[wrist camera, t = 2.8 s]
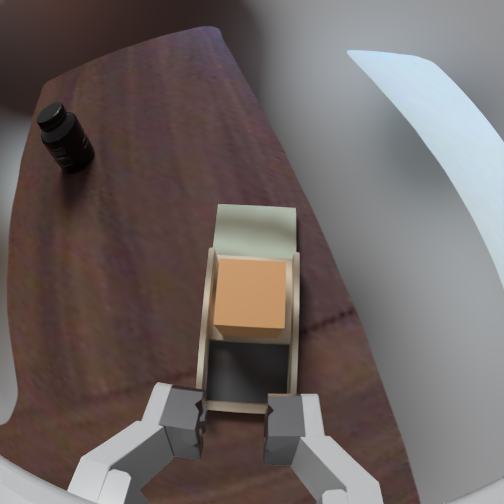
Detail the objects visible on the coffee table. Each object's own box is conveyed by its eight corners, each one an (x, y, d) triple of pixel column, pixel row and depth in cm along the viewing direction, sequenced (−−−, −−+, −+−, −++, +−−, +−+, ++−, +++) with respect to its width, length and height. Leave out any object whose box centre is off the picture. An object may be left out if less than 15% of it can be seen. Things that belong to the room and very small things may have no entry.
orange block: (276, 338, 32) (284, 328, 25) (222, 335, 32) (213, 324, 25) (278, 286, 35) (286, 261, 27) (226, 283, 35) (219, 258, 27)
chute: (290, 412, 30) (294, 416, 27) (200, 407, 31) (194, 410, 27) (295, 213, 40) (298, 199, 37) (218, 210, 40) (215, 195, 37)
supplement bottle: (102, 151, 45) (75, 101, 34) (74, 180, 43) (40, 133, 32) (82, 140, 46) (55, 93, 35) (56, 166, 44) (25, 122, 33)
